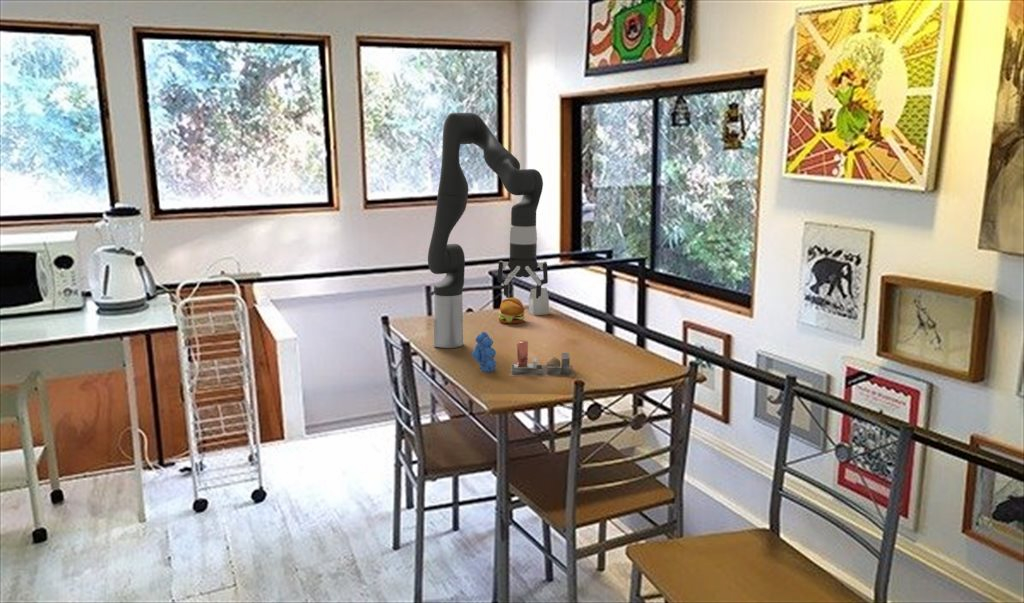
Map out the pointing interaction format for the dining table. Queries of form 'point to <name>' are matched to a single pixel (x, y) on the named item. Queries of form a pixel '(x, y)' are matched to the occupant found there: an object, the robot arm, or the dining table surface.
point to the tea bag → (538, 302)
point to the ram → (524, 357)
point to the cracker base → (547, 370)
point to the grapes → (484, 352)
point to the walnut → (553, 362)
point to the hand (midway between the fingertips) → (522, 297)
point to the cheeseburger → (511, 311)
